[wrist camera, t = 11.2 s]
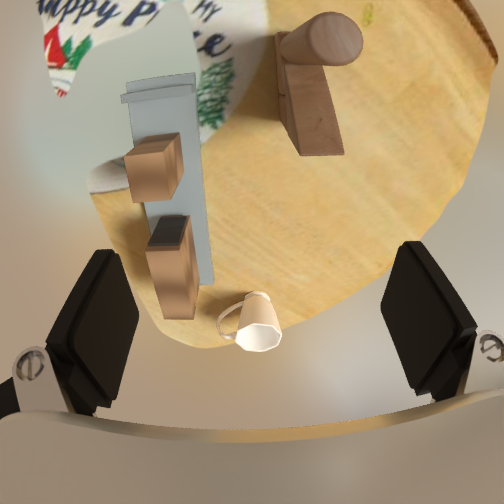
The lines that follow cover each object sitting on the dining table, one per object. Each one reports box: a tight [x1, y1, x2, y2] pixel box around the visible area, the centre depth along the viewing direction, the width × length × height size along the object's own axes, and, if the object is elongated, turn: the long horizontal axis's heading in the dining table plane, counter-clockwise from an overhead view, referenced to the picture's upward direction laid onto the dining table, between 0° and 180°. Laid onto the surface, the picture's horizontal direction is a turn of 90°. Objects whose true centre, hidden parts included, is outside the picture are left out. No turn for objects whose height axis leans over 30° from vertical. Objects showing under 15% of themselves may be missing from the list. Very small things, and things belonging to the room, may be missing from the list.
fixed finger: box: [145, 215, 200, 320], centre depth 39 cm, size 11×4×8 cm, turn 1°
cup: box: [217, 291, 282, 352], centre depth 46 cm, size 7×10×8 cm
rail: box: [121, 73, 214, 285], centre depth 37 cm, size 30×8×3 cm, turn 1°
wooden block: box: [274, 12, 363, 156], centre depth 23 cm, size 4×11×18 cm, turn 4°
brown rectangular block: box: [124, 132, 184, 203], centre depth 31 cm, size 5×4×8 cm
